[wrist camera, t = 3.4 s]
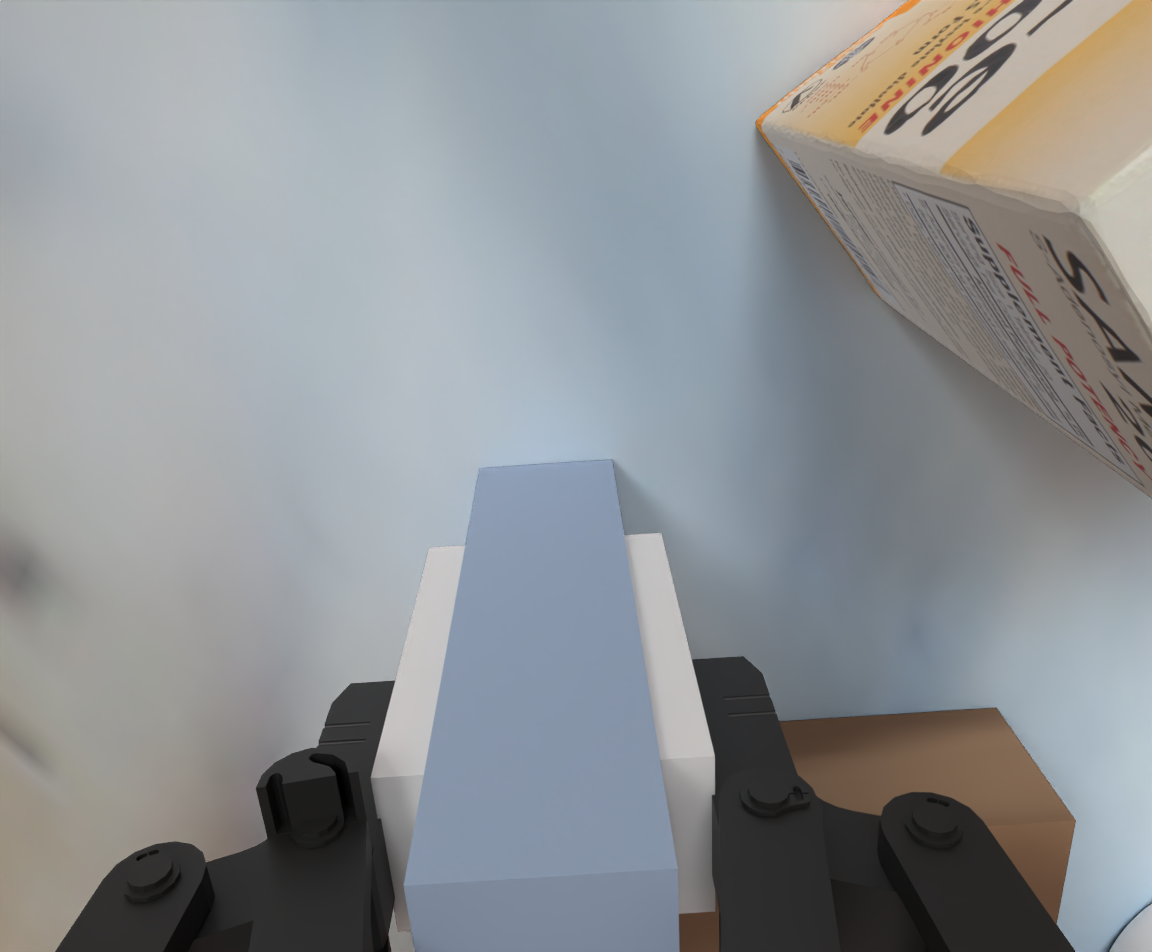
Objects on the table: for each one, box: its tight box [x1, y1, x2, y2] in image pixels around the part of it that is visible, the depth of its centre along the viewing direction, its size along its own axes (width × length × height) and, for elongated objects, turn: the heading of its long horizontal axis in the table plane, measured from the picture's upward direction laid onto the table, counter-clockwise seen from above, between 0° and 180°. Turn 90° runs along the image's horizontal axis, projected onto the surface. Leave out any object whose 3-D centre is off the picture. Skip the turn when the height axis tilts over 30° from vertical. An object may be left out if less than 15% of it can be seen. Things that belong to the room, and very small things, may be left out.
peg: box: [404, 460, 680, 952], centre depth 17 cm, size 3×3×12 cm
